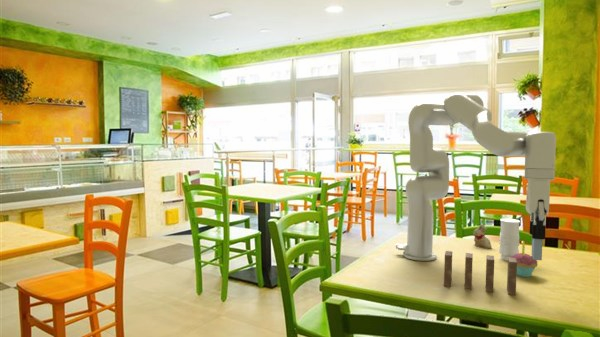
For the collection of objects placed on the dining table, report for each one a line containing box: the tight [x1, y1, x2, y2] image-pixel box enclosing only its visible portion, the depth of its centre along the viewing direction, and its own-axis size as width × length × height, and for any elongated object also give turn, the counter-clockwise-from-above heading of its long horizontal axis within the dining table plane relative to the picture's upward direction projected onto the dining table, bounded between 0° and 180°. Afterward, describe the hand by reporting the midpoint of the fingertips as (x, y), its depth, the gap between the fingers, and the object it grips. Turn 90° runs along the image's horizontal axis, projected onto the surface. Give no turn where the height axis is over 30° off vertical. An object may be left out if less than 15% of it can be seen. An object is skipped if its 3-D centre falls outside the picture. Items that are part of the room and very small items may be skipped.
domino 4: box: [506, 257, 518, 297], centre depth 123 cm, size 2×5×10 cm, turn 157°
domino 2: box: [464, 252, 474, 291], centre depth 128 cm, size 2×5×10 cm, turn 157°
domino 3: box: [485, 254, 495, 294], centre depth 125 cm, size 2×5×10 cm, turn 157°
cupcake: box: [511, 240, 538, 278], centre depth 139 cm, size 9×8×12 cm
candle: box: [498, 218, 521, 262], centre depth 158 cm, size 7×7×15 cm
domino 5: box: [531, 222, 543, 261], centre depth 120 cm, size 2×5×10 cm, turn 157°
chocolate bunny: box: [472, 223, 492, 250], centre depth 176 cm, size 6×8×10 cm
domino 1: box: [443, 250, 453, 288], centre depth 130 cm, size 2×5×10 cm, turn 157°
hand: (537, 236), depth 120 cm, fingers closed on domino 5, 4 cm apart
